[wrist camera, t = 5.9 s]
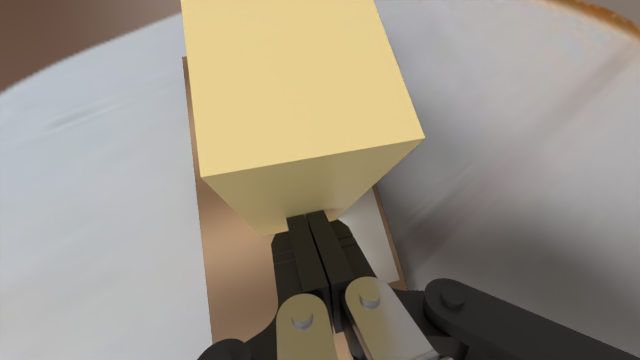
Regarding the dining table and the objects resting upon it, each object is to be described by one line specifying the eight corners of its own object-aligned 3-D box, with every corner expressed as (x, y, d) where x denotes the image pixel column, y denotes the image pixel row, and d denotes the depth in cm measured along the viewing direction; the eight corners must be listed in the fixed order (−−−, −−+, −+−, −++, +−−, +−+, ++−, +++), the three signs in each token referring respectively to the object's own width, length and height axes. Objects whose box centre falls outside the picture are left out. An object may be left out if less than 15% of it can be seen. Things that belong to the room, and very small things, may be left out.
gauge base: (418, 353, 14) (540, 438, 7) (228, 417, 12) (153, 608, 5) (330, 55, 19) (352, -57, 13) (189, 70, 18) (126, -51, 11)
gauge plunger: (370, 212, 15) (518, 121, 5) (261, 236, 14) (200, 176, 4) (336, 98, 17) (400, -117, 7) (240, 111, 16) (167, -121, 6)
